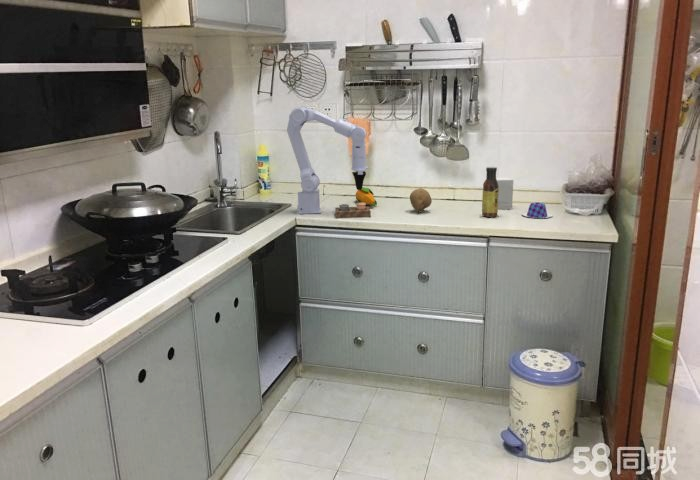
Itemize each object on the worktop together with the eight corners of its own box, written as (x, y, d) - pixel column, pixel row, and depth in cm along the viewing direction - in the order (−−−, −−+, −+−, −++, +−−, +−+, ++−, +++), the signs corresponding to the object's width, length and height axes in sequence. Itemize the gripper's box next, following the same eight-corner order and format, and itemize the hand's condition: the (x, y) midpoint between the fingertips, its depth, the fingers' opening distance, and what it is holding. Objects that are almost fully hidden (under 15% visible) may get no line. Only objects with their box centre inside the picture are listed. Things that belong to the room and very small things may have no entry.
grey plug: (339, 216, 243) (339, 206, 242) (339, 213, 247) (339, 204, 246) (349, 215, 243) (349, 206, 242) (348, 213, 247) (348, 204, 246)
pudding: (558, 218, 235) (559, 205, 233) (531, 220, 232) (531, 207, 231) (542, 212, 246) (543, 199, 245) (516, 214, 244) (516, 201, 242)
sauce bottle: (497, 218, 236) (500, 168, 231) (481, 217, 237) (483, 168, 232) (497, 214, 242) (499, 166, 237) (481, 214, 243) (483, 166, 238)
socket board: (336, 218, 241) (336, 212, 240) (335, 213, 249) (335, 207, 249) (370, 217, 242) (370, 211, 241) (368, 212, 250) (368, 206, 250)
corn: (367, 183, 273) (381, 191, 255) (368, 199, 276) (382, 208, 257) (351, 185, 272) (365, 193, 253) (353, 201, 274) (366, 210, 255)
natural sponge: (426, 208, 255) (427, 186, 252) (434, 213, 246) (435, 189, 244) (406, 210, 252) (407, 187, 250) (414, 214, 244) (414, 191, 241)
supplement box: (512, 209, 251) (514, 179, 248) (494, 209, 251) (496, 180, 248) (508, 205, 258) (509, 177, 255) (491, 205, 258) (492, 177, 255)
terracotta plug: (356, 214, 243) (356, 204, 242) (355, 211, 247) (355, 202, 246) (366, 213, 244) (366, 204, 243) (365, 211, 247) (365, 202, 246)
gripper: (370, 158, 237) (370, 192, 240) (366, 154, 251) (367, 185, 254) (352, 159, 236) (353, 192, 240) (350, 154, 250) (350, 186, 254)
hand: (359, 189), depth 247 cm, fingers closed
